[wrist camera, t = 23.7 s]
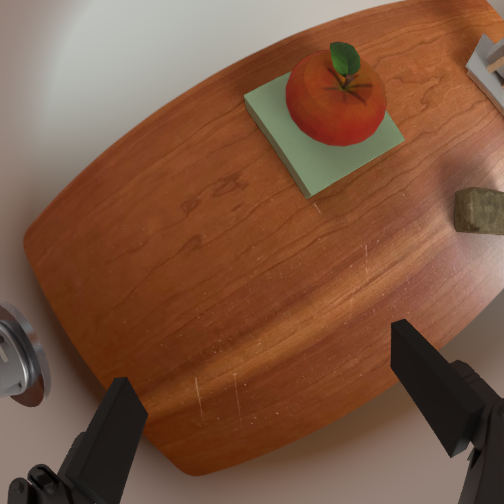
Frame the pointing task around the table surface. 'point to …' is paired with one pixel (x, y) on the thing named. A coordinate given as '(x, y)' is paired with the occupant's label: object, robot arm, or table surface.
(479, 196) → the stone block
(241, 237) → the table surface
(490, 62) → the desk lamp
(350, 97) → the fruit
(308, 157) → the green block
